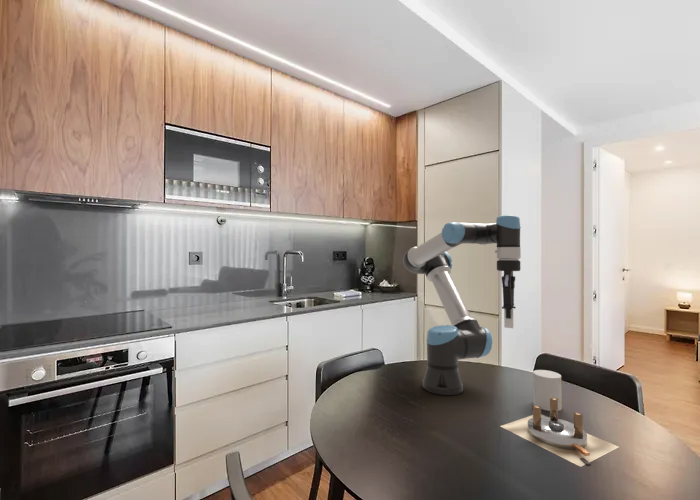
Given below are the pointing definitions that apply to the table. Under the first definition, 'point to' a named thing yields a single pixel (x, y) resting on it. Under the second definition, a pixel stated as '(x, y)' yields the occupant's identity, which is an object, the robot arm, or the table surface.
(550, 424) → the capstan wheel
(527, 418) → the base board
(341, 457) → the table surface
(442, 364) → the robot arm
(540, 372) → the cup
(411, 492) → the table surface
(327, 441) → the table surface
